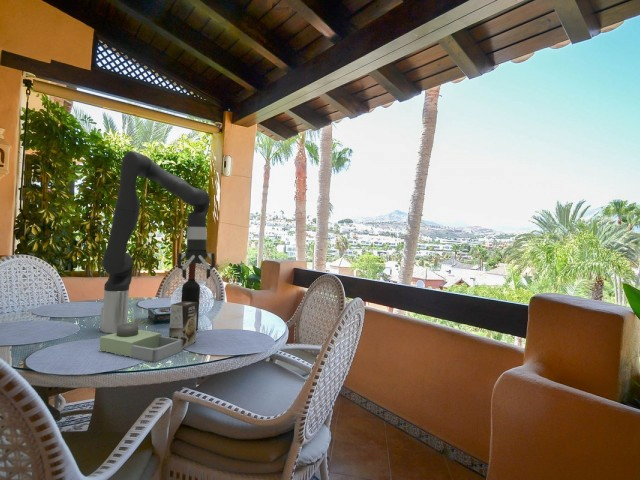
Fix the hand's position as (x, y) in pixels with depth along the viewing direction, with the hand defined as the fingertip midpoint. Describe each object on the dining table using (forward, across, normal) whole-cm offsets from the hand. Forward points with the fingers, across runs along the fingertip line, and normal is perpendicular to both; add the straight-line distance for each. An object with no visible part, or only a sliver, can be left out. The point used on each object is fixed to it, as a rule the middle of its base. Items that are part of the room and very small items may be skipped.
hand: (196, 278), depth 151 cm
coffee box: (+25, +5, +5) cm, 26 cm away
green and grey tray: (+24, +18, +11) cm, 32 cm away
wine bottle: (+25, +3, -16) cm, 30 cm away
